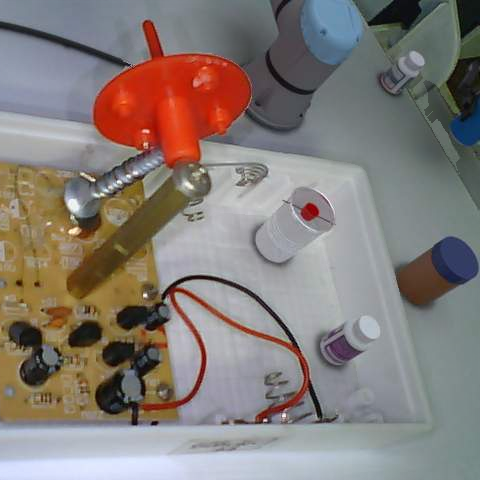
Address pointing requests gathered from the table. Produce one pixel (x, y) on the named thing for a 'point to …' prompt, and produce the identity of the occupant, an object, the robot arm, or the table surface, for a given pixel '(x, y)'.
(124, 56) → the table surface
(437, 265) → the lid
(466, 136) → the beverage can
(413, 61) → the pill bottle
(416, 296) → the jar
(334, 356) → the pill bottle
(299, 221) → the striped cup with float
